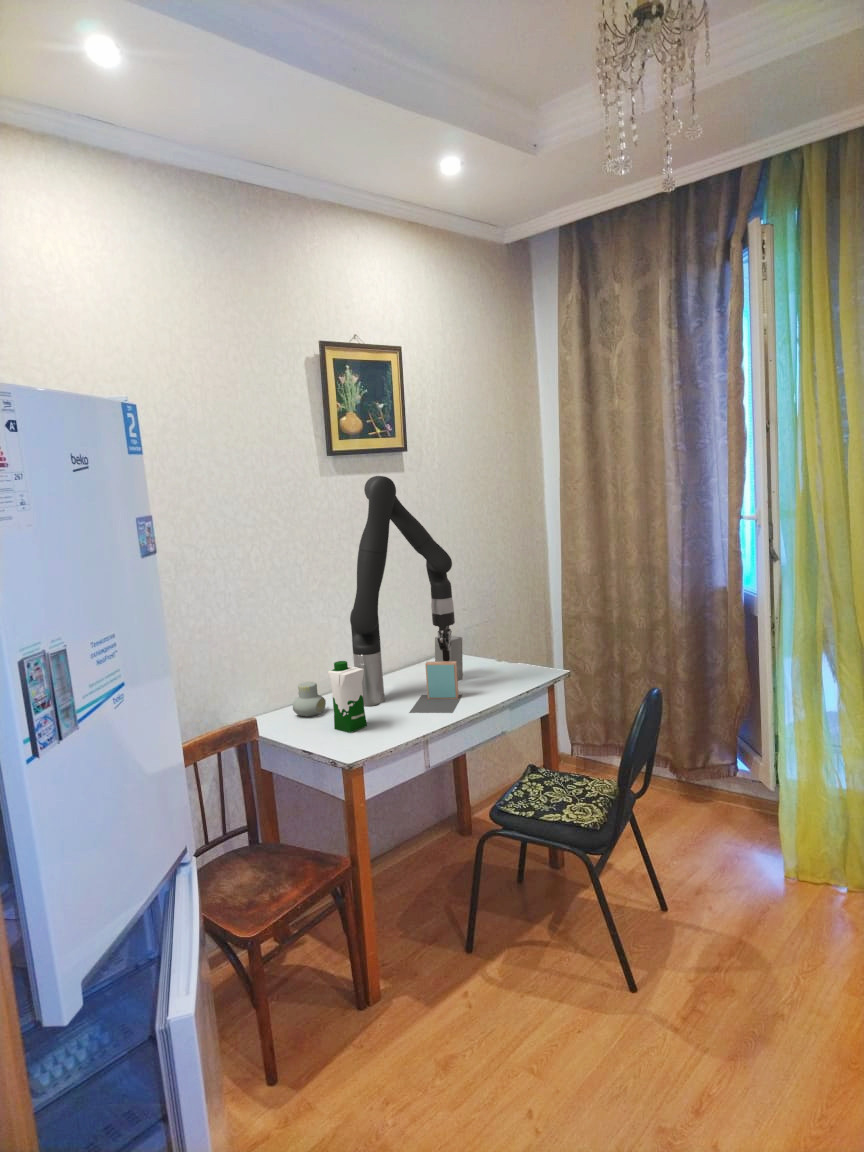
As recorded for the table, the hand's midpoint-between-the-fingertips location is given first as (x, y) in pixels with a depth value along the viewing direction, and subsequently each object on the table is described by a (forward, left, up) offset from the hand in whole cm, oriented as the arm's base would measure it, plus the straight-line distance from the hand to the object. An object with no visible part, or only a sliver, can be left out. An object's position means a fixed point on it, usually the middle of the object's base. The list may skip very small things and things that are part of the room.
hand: (446, 660), depth 258 cm
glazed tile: (0, -9, -10) cm, 13 cm away
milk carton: (-23, -37, -11) cm, 45 cm away
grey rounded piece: (-41, -24, -11) cm, 49 cm away
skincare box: (-2, +15, -11) cm, 19 cm away
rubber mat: (-1, -15, -11) cm, 18 cm away
